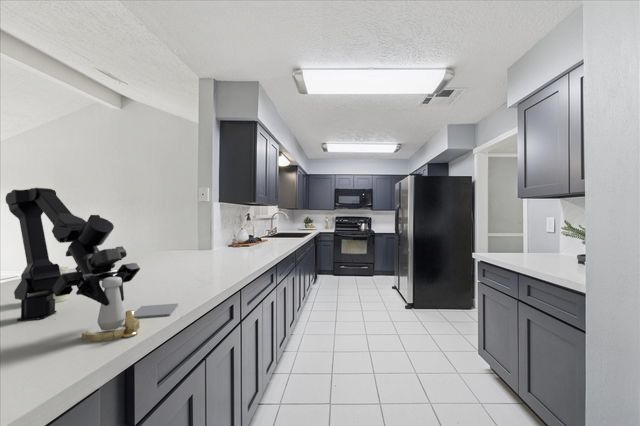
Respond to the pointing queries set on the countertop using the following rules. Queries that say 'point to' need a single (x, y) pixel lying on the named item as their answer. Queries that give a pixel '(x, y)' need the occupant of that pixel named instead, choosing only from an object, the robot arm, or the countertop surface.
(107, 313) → the salt shaker
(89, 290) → the robot arm
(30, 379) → the countertop surface
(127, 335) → the gold curved piece
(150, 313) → the coaster
